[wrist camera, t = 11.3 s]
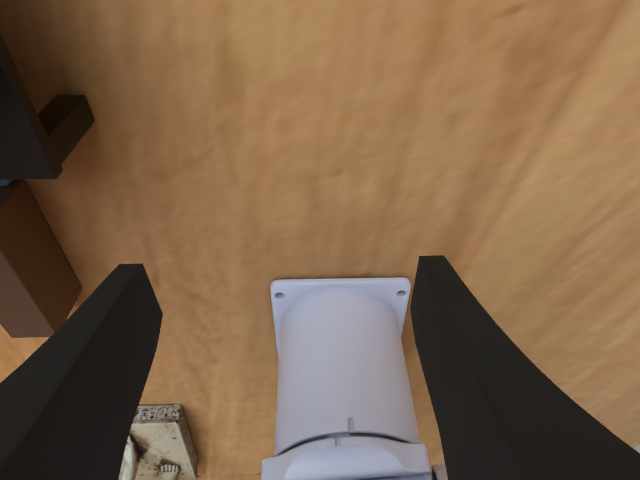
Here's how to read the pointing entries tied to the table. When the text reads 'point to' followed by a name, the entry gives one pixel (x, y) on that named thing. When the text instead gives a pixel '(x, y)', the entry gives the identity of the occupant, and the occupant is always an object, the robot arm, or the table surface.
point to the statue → (159, 446)
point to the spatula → (31, 268)
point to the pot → (36, 127)
